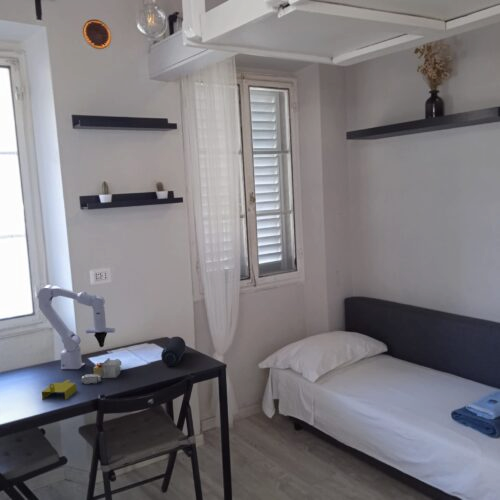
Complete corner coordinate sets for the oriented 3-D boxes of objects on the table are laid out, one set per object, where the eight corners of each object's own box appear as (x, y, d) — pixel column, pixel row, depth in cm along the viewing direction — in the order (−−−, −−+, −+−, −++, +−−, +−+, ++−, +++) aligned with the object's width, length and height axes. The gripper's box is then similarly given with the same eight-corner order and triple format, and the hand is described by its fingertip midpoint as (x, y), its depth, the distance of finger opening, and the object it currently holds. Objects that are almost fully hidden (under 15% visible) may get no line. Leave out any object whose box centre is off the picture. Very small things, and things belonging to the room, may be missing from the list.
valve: (93, 377, 251) (93, 365, 250) (98, 373, 256) (97, 362, 255) (112, 376, 250) (111, 365, 249) (116, 373, 255) (115, 361, 254)
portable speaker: (168, 353, 284) (167, 334, 283) (187, 352, 284) (185, 334, 282) (160, 368, 259) (159, 348, 258) (180, 367, 259) (179, 348, 258)
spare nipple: (81, 384, 243) (80, 377, 242) (83, 381, 246) (83, 374, 246) (99, 383, 243) (99, 376, 242) (101, 380, 246) (101, 373, 246)
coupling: (102, 378, 249) (101, 364, 248) (113, 368, 262) (112, 355, 262) (115, 378, 248) (113, 364, 247) (124, 368, 262) (123, 354, 261)
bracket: (84, 371, 237) (69, 384, 223) (86, 388, 238) (70, 401, 224) (52, 371, 240) (34, 383, 225) (53, 388, 240) (36, 401, 226)
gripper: (82, 322, 264) (84, 349, 265) (110, 322, 262) (112, 348, 264) (88, 319, 271) (90, 345, 272) (115, 318, 269) (117, 344, 271)
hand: (101, 346), depth 268 cm, fingers closed
